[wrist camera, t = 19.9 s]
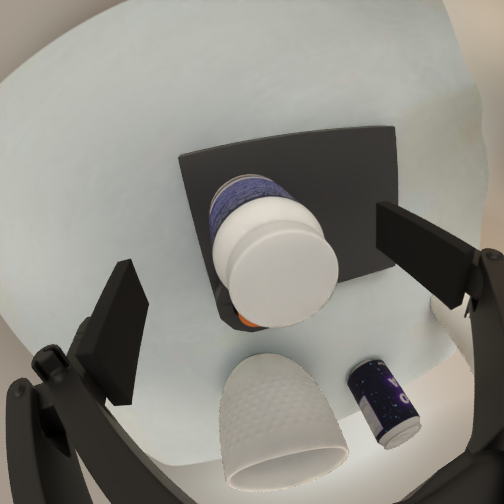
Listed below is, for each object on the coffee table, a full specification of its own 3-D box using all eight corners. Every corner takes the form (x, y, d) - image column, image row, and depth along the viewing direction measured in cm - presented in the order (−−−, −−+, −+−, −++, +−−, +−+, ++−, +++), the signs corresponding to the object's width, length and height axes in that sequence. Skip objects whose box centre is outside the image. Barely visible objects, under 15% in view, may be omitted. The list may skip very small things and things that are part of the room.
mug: (300, 407, 34) (329, 485, 23) (221, 419, 33) (234, 504, 21) (313, 329, 28) (366, 431, 16) (206, 343, 27) (217, 463, 15)
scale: (221, 313, 25) (224, 338, 22) (179, 154, 19) (175, 159, 16) (385, 269, 27) (404, 286, 24) (383, 125, 20) (408, 127, 17)
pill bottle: (193, 224, 20) (187, 306, 11) (239, 157, 18) (274, 184, 9) (257, 261, 22) (294, 352, 13) (302, 202, 20) (374, 261, 12)
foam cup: (423, 333, 33) (475, 395, 21) (418, 288, 29) (488, 357, 17) (467, 296, 32) (522, 346, 21) (467, 248, 28) (538, 299, 17)
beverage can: (368, 382, 35) (404, 445, 24) (337, 384, 34) (372, 455, 23) (388, 354, 33) (432, 418, 22) (357, 355, 32) (402, 428, 21)
